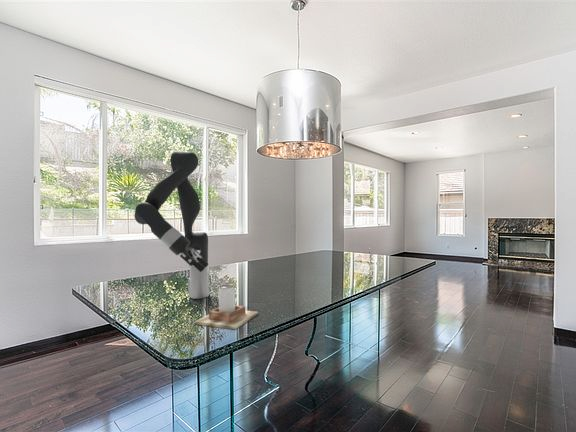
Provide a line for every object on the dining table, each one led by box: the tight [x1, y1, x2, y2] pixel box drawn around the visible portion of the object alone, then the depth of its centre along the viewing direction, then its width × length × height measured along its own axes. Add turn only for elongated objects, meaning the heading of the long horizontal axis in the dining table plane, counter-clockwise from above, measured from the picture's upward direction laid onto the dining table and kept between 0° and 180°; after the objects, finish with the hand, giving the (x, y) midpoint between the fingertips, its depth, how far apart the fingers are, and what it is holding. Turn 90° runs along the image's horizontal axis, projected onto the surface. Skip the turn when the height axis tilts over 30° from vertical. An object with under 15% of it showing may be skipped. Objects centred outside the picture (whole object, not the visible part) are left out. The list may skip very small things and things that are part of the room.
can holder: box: [194, 304, 259, 330], centre depth 123 cm, size 18×18×4 cm
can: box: [218, 284, 236, 313], centre depth 123 cm, size 6×6×12 cm
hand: (204, 268), depth 125 cm, fingers open, 8 cm apart
